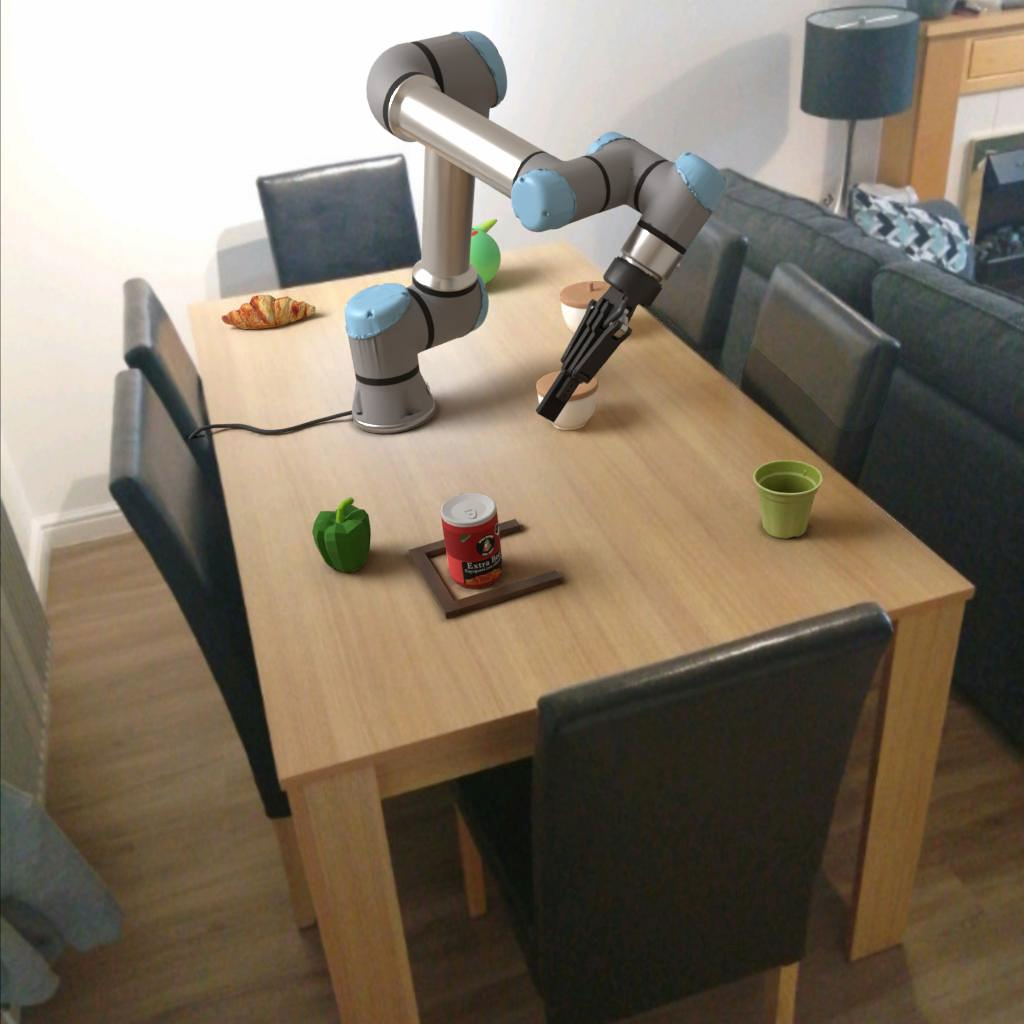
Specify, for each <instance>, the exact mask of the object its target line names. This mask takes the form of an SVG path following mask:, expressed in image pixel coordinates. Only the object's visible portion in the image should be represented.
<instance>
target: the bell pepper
mask: <svg viewBox="0 0 1024 1024" xmlns="http://www.w3.org/2000/svg"><path fill="white" fill-rule="evenodd" d="M354 503H355V499H354V498H353V497H351V496H350V497H347V498H345V499H344V500H342V501H341V502H340V503H339V504H338V506H337V508H336V509H335V510H321V511H319V513H318V515H317V516H316V519H315V520H314V522H313V526H312V530H311V533H312V537H313V541H314V544H315V546H316V548H317V550H318V553H319V554H320V556H321V558H322V560H323V562H324V563H325V564H326V565H327V566H328V567H329V568H330V569H336V570H337V571H340V572H342V573H351V572H354V571H357V570H360V569H361V568H362V567H363V566H364V564H365V563H366V561H367V559H368V556H369V555H370V551H371V539H372V538H371V537H372V533H371V532H372V529H371V521H370V515H369V513H368V512H367V511H366V509H365V508H359V507H357V506H356V505H353V504H354Z"/></svg>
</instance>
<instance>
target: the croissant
mask: <svg viewBox="0 0 1024 1024" xmlns="http://www.w3.org/2000/svg"><path fill="white" fill-rule="evenodd" d="M316 311H317V309H316V306H315V305H311V304H309V303H308V302H306V301H304V300H301V301H300V300H299V301H298V300H295V299H292V297H289V296H287V295H286V296H282V297H276V298H275V296H273V295H270V294H257V295H253V296H252V297H251V298H250V301H249V302H245V303H243V304H241V305H240V307H239V308H238V309H233V310H230V311H229V312H228V313H227V314H224V315H221V321H222V322H223V323H224V324H226V325H229V326H233V327H236V328H238V329H244V330H250V329H251V330H263V329H266V328H267V329H269V328H277V327H281V326H283V325H287V324H288V323H294V322H296V321H300V320H301V319H302V318H304V319H305V318H309V317H311V316H313V315H314V314H315V313H316Z"/></svg>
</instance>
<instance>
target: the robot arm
mask: <svg viewBox="0 0 1024 1024" xmlns="http://www.w3.org/2000/svg"><path fill="white" fill-rule="evenodd" d="M365 89H366V100H367V103H368V107H369V110H370V112H371V114H372V116H373V118H374V119H375V120H376V121H377V123H378V124H379V125H380V126H381V127H382V128H383V129H384V130H385V131H387V132H388V133H390V135H392V136H393V137H395V138H397V139H398V140H400V141H402V142H405V143H416V142H417V143H419V144H420V145H422V146H423V147H424V158H423V159H424V162H423V189H422V192H423V193H422V195H423V196H422V222H421V223H422V224H421V225H422V226H421V257H420V258H421V259H419V260H418V261H417V262H416V263H414V265H413V267H412V273H411V285H409V286H405V285H403V284H401V283H398V282H385V283H384V282H383V283H382V284H380V285H379V284H373V285H371V286H368V287H366V288H364V289H362V290H359V291H358V292H356V293H355V294H354V295H352V296H351V297H350V298H349V299H348V301H347V303H346V305H345V308H344V320H345V321H344V322H345V327H344V328H345V332H346V334H347V338H348V344H349V349H350V355H351V360H352V366H353V370H354V376H355V387H354V392H353V400H352V405H351V406H352V408H351V410H347V411H343V412H339V413H336V414H332V415H328V416H324V417H321V418H316V419H313V420H309V421H306V422H303V423H300V424H297V425H293V426H290V427H289V426H288V427H285V428H280V429H279V428H277V429H264V428H259V427H256V426H252V425H249V424H244V423H213V424H207V425H203V426H200V427H198V428H196V429H194V431H193V432H192V433H191V434H190V435H189V436H188V440H193V439H194V438H195V437H196V436H197V435H198V434H200V433H202V432H203V431H204V432H205V431H207V430H211V429H212V430H213V429H232V428H233V429H235V428H236V429H244V430H248V431H251V432H254V433H258V434H262V435H275V434H285V433H290V432H293V431H297V430H300V429H303V428H308V427H311V426H314V425H317V424H320V423H325V422H328V421H332V420H335V419H339V418H344V417H347V416H352V421H353V424H354V425H355V427H357V428H358V429H360V430H362V431H364V432H367V433H371V434H372V433H373V434H395V433H402V432H405V431H409V430H414V429H416V428H418V427H420V426H422V425H424V424H427V422H429V421H430V420H431V419H433V417H434V415H435V413H436V402H435V399H434V396H433V394H432V392H431V387H430V385H429V383H428V381H427V380H425V379H424V377H423V375H422V372H421V368H420V361H419V354H420V353H422V352H425V351H427V350H430V349H433V348H435V347H439V346H441V345H443V344H446V343H448V342H451V341H453V340H454V341H455V340H457V339H460V338H463V337H465V336H467V335H469V334H471V333H472V332H474V331H477V329H478V330H479V328H480V327H481V326H482V325H483V324H484V322H485V320H486V319H487V316H488V313H489V307H490V305H489V303H490V300H489V293H488V292H487V291H486V288H487V287H486V284H485V283H484V281H483V280H482V278H481V277H480V275H479V274H478V273H477V270H476V269H475V267H474V266H473V265H472V264H471V263H470V251H471V237H472V228H473V221H474V208H475V207H474V206H475V205H474V204H475V192H476V191H475V189H476V179H477V180H479V181H480V182H482V183H484V184H486V185H487V186H488V187H490V188H492V189H494V190H495V191H497V192H498V193H500V194H502V196H503V195H504V196H505V197H507V198H508V199H510V201H511V208H512V210H513V213H514V215H515V217H516V218H517V219H518V220H519V221H520V224H521V225H522V226H523V228H525V229H526V230H527V231H530V232H532V233H542V232H546V231H550V230H559V229H561V228H564V227H566V226H568V225H571V224H573V223H576V222H578V221H581V220H584V219H587V218H589V217H591V216H595V215H597V214H601V213H604V212H606V211H610V210H612V209H616V208H618V207H621V206H627V207H628V208H631V209H633V210H635V211H636V212H638V213H639V214H640V215H641V216H640V217H639V220H638V221H637V223H636V224H635V225H634V226H633V228H632V229H631V231H630V232H629V234H628V236H627V237H626V239H625V240H624V241H623V243H622V245H621V246H620V248H619V251H620V252H621V255H620V256H619V255H617V256H615V257H614V258H613V259H612V261H611V263H610V264H609V266H608V267H607V269H606V271H605V272H604V274H603V276H602V279H603V282H607V283H608V284H609V285H611V286H610V288H609V289H608V290H607V291H606V292H605V293H604V294H603V296H602V297H601V298H600V299H599V300H598V302H597V301H596V300H594V299H592V300H591V301H590V302H589V304H588V307H587V310H586V312H585V315H584V317H583V319H582V320H581V322H580V324H579V326H578V328H577V330H576V332H575V334H574V333H573V335H572V337H571V339H570V341H569V343H568V344H567V347H566V348H565V350H564V353H563V354H562V356H561V357H560V363H562V365H561V368H560V369H561V370H562V371H561V370H560V371H561V372H560V373H559V375H558V377H557V378H556V380H555V381H554V383H553V384H552V386H551V387H550V389H549V390H548V392H547V393H546V395H545V397H544V398H543V400H542V401H541V403H540V404H539V403H538V406H537V407H536V409H535V413H537V414H538V415H539V416H540V417H542V418H544V419H546V420H547V419H548V420H550V421H551V422H553V423H554V422H555V420H556V419H557V417H558V416H559V414H560V413H561V411H562V410H563V408H564V407H565V405H566V404H567V402H568V401H569V399H570V397H571V396H572V394H573V393H574V391H575V390H576V388H577V387H578V385H579V384H582V383H583V382H584V383H586V384H588V383H589V382H590V381H591V380H592V379H593V377H594V376H595V377H596V375H597V374H598V373H599V371H600V370H601V369H602V367H604V366H605V364H606V362H608V360H609V359H610V358H611V357H612V355H613V354H614V353H615V352H616V350H618V348H619V347H620V345H621V344H622V343H623V342H624V341H626V340H627V339H628V338H629V337H630V336H631V335H632V334H633V328H631V327H630V326H629V323H630V321H631V319H632V318H633V316H634V314H635V312H636V309H637V307H638V306H639V305H640V306H641V307H642V308H645V309H649V308H650V307H652V305H653V304H654V302H655V301H656V299H657V297H658V296H659V294H660V293H661V292H662V290H663V284H661V283H662V281H664V282H665V281H668V280H669V279H670V277H671V275H672V274H673V273H674V271H675V270H678V269H679V268H680V267H681V263H680V262H681V260H682V259H683V257H684V256H685V255H686V253H687V251H688V249H689V248H690V246H691V245H692V243H693V242H694V240H695V239H696V237H697V236H698V235H699V234H700V232H701V230H702V229H703V228H704V226H705V224H706V223H707V222H708V220H709V219H710V218H711V217H712V215H714V214H715V212H716V208H717V207H718V205H719V203H720V202H721V200H722V198H723V196H724V195H725V193H726V191H727V190H728V187H729V180H728V178H727V176H726V175H725V174H724V173H723V172H722V171H721V170H720V169H718V168H717V167H715V165H714V164H711V163H710V162H708V161H707V160H706V159H704V158H703V157H700V156H699V155H698V154H695V153H692V152H690V151H684V152H683V153H682V154H680V156H679V157H678V158H677V159H675V162H674V161H670V160H669V159H667V158H666V157H664V156H662V155H660V154H658V153H657V152H655V151H653V150H652V149H650V148H648V146H645V145H644V144H642V143H640V142H639V141H638V140H636V139H635V138H631V137H629V136H626V135H624V134H622V133H620V132H617V131H608V132H605V133H603V134H601V135H599V138H598V139H597V140H594V141H593V142H592V143H591V145H590V146H589V148H588V149H587V151H586V153H585V155H582V156H579V157H576V158H572V159H568V160H563V159H560V158H558V157H557V156H555V155H552V154H551V153H549V152H547V151H545V150H544V149H542V148H541V147H538V146H536V145H535V144H533V143H532V142H529V141H528V140H526V139H525V138H522V137H521V136H519V135H518V134H516V133H514V132H512V131H510V130H509V129H507V128H506V127H503V126H502V125H500V124H498V123H496V122H494V121H493V120H491V119H490V112H491V111H490V110H491V109H494V108H497V107H498V106H499V105H500V104H501V103H502V102H503V101H504V99H505V98H506V95H507V90H508V76H507V69H506V65H505V63H504V60H503V57H502V55H500V52H499V50H498V47H496V45H495V43H494V42H493V41H492V40H491V39H490V38H489V37H488V36H487V35H485V34H484V33H482V32H480V31H476V30H466V31H451V32H450V33H447V34H443V35H438V36H433V37H427V38H424V39H423V38H422V39H419V40H413V41H409V42H402V43H398V44H395V45H393V46H390V47H389V48H387V49H386V50H384V51H383V52H382V53H381V54H380V55H379V56H378V57H377V58H376V59H375V61H374V62H373V63H372V65H371V67H370V70H369V72H368V76H367V79H366V88H365ZM548 420H547V421H548Z"/></svg>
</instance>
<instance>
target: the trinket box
mask: <svg viewBox="0 0 1024 1024" xmlns="http://www.w3.org/2000/svg"><path fill="white" fill-rule="evenodd" d="M561 371H562V370H557V371H551V372H549V373H547V374H545V375H543V376H541V377H540V378H539V379H538V380H537V382H536V385H535V387H536V392H537V400H538V405H539V404H540V403H541V401H542V400H543V398H544V397H545V395H546V393H547V392H548V390H549V389H550V387H551V386H552V384H553V383H554V381H555V380H556V378H557V377H558V375H559V373H560V372H561ZM598 398H599V380H598V378H597V376H596V375H595V376H594V377H593V379H592V380H591V381H590V382H589V383H588V384H586V383H584V382H583V383H582V384H579V385H578V387H577V388H576V390H575V391H574V393H573V394H572V396H571V397H570V399H569V401H568V402H567V404H566V405H565V407H564V408H563V410H562V411H561V413H560V414H559V416H558V417H557V419H556V420H555V422H554V423H553V422H551V421H550V420H548V419H546V421H548V422H549V423H550V424H552V426H553V428H555V429H557V430H561V431H573V430H578V429H580V428H583V427H585V425H587V423H588V421H589V420H591V418H592V417H593V416H594V414H595V412H596V409H597V406H598Z"/></svg>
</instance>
